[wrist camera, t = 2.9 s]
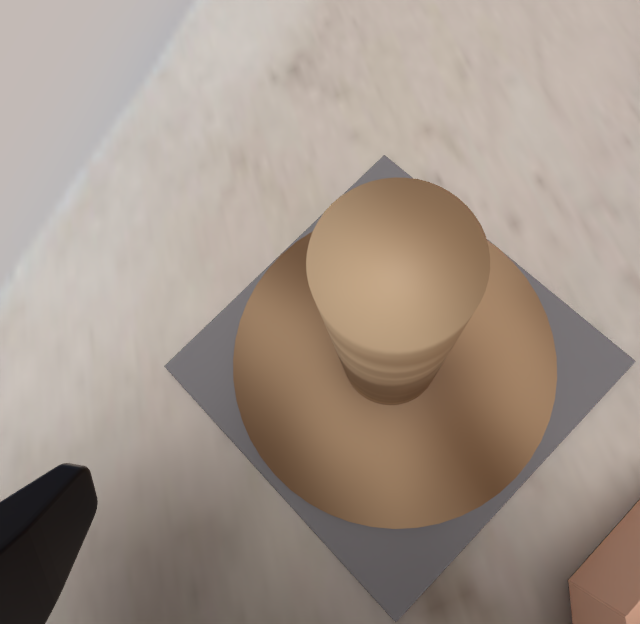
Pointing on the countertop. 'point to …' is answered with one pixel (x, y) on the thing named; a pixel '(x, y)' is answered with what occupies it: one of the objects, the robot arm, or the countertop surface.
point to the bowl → (610, 578)
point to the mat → (409, 543)
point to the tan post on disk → (395, 360)
